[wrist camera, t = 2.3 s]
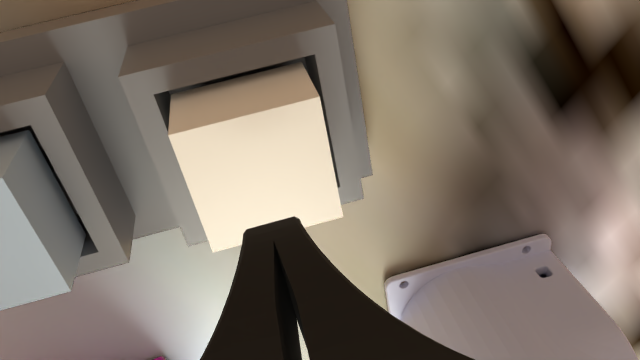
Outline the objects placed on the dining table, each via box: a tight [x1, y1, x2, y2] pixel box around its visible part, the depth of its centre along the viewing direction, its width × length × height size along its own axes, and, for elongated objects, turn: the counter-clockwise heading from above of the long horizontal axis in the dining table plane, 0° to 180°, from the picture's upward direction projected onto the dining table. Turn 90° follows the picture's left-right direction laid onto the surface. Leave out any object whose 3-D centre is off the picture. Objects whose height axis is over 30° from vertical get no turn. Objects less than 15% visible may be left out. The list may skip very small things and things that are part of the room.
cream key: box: [168, 62, 343, 252], centre depth 18 cm, size 4×4×3 cm
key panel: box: [0, 0, 373, 277], centre depth 20 cm, size 18×9×4 cm, turn 100°
